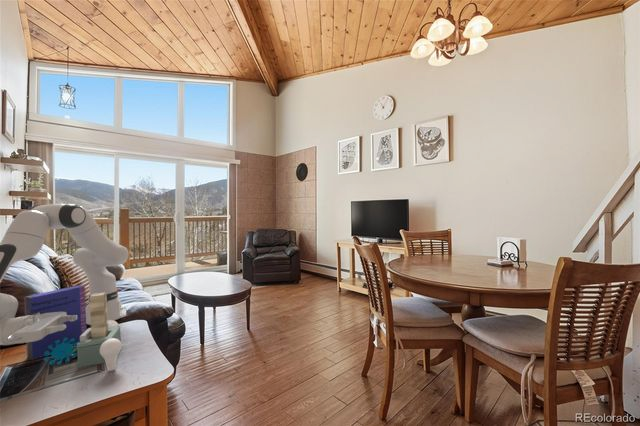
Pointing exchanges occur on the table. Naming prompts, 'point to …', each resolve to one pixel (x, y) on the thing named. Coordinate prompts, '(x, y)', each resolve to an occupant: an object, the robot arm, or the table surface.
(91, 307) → the beige tall ridged block
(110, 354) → the lightbulb
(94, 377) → the table surface
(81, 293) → the cereal box
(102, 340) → the lid
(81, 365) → the green open box
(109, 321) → the penguin figurine
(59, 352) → the gear
